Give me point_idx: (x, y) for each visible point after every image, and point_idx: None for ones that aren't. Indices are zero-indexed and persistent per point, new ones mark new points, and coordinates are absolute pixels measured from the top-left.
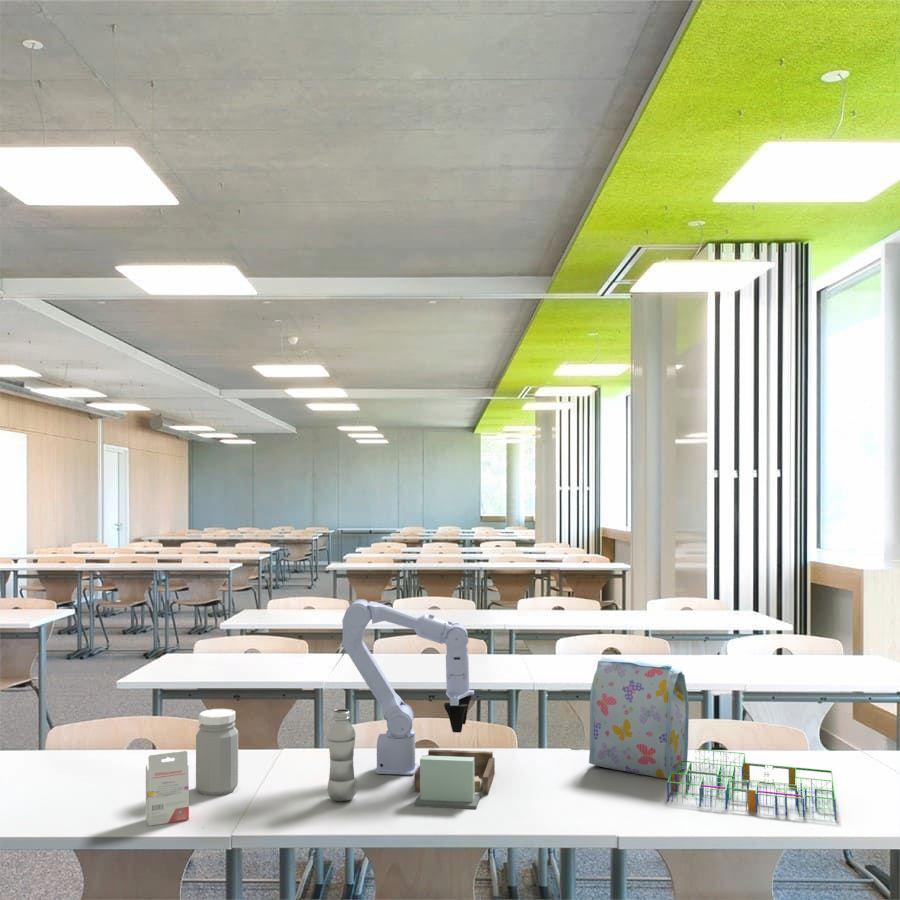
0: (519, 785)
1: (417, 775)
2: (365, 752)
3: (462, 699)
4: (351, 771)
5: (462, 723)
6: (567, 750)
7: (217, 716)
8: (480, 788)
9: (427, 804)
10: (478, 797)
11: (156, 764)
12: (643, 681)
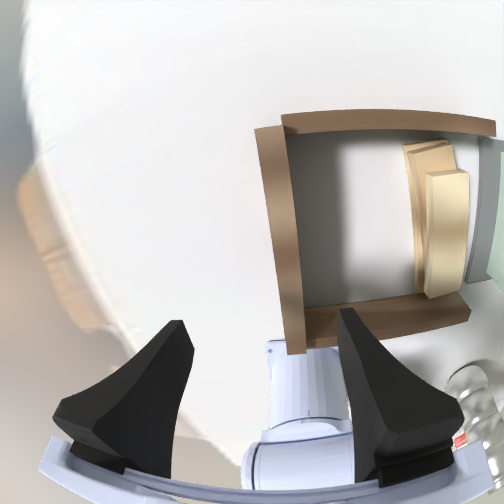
0: (370, 29)
1: (469, 313)
2: (209, 418)
3: (136, 442)
4: (489, 396)
5: (361, 334)
6: (29, 37)
7: None
8: (446, 140)
9: None
10: (500, 142)
11: None
12: None
